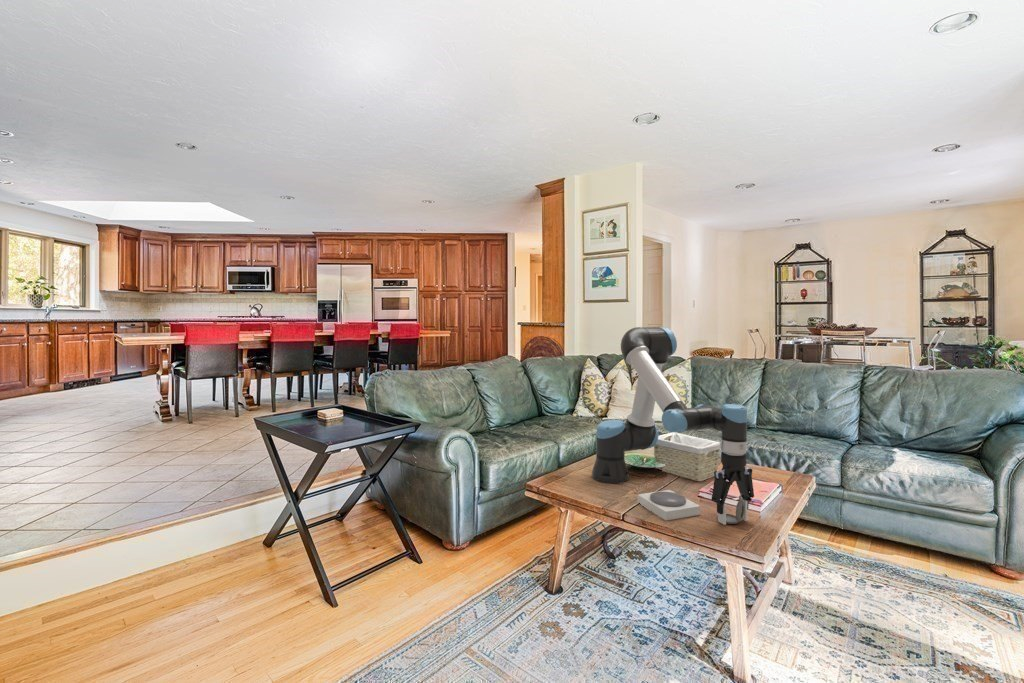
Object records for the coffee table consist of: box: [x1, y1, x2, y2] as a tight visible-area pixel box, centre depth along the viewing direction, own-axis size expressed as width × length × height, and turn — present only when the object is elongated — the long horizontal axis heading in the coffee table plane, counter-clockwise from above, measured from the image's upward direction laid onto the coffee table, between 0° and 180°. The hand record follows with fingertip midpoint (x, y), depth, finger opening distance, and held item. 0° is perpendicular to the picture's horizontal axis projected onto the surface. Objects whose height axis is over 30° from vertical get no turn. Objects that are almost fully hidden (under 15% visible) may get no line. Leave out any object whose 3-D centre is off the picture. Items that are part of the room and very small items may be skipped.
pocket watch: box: [716, 494, 744, 525], centre depth 152 cm, size 8×8×10 cm
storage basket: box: [653, 432, 721, 482], centre depth 201 cm, size 24×16×15 cm
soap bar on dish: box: [637, 489, 701, 521], centre depth 163 cm, size 16×14×4 cm
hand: (732, 520), depth 152 cm, fingers closed on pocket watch, 8 cm apart
